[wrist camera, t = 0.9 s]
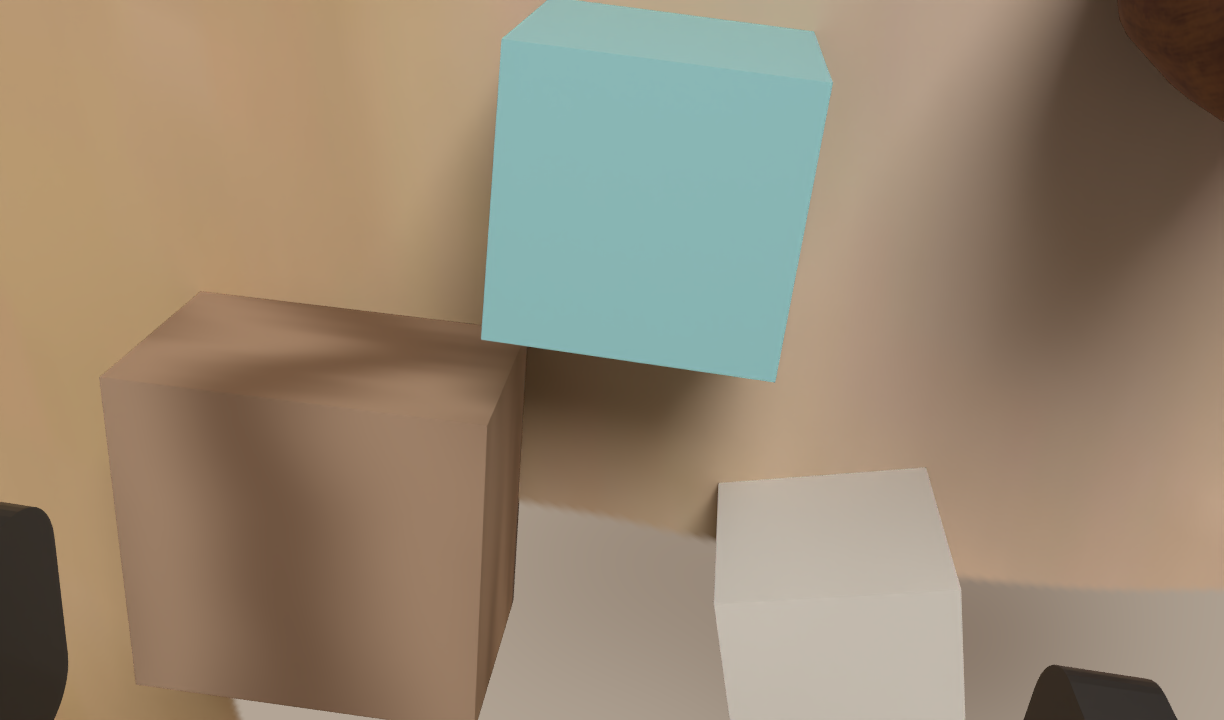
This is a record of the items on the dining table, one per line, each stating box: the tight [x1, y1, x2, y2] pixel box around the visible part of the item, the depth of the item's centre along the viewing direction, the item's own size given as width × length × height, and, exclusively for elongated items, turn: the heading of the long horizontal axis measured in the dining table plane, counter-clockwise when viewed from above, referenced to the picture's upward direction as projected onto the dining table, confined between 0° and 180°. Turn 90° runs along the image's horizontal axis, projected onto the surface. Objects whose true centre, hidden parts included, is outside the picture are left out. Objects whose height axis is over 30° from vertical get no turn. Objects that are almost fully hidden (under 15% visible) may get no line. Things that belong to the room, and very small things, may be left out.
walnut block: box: [99, 291, 527, 720], centre depth 27 cm, size 8×8×5 cm
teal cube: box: [481, 0, 833, 382], centre depth 22 cm, size 6×6×6 cm
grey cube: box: [714, 467, 965, 720], centre depth 27 cm, size 5×5×5 cm
